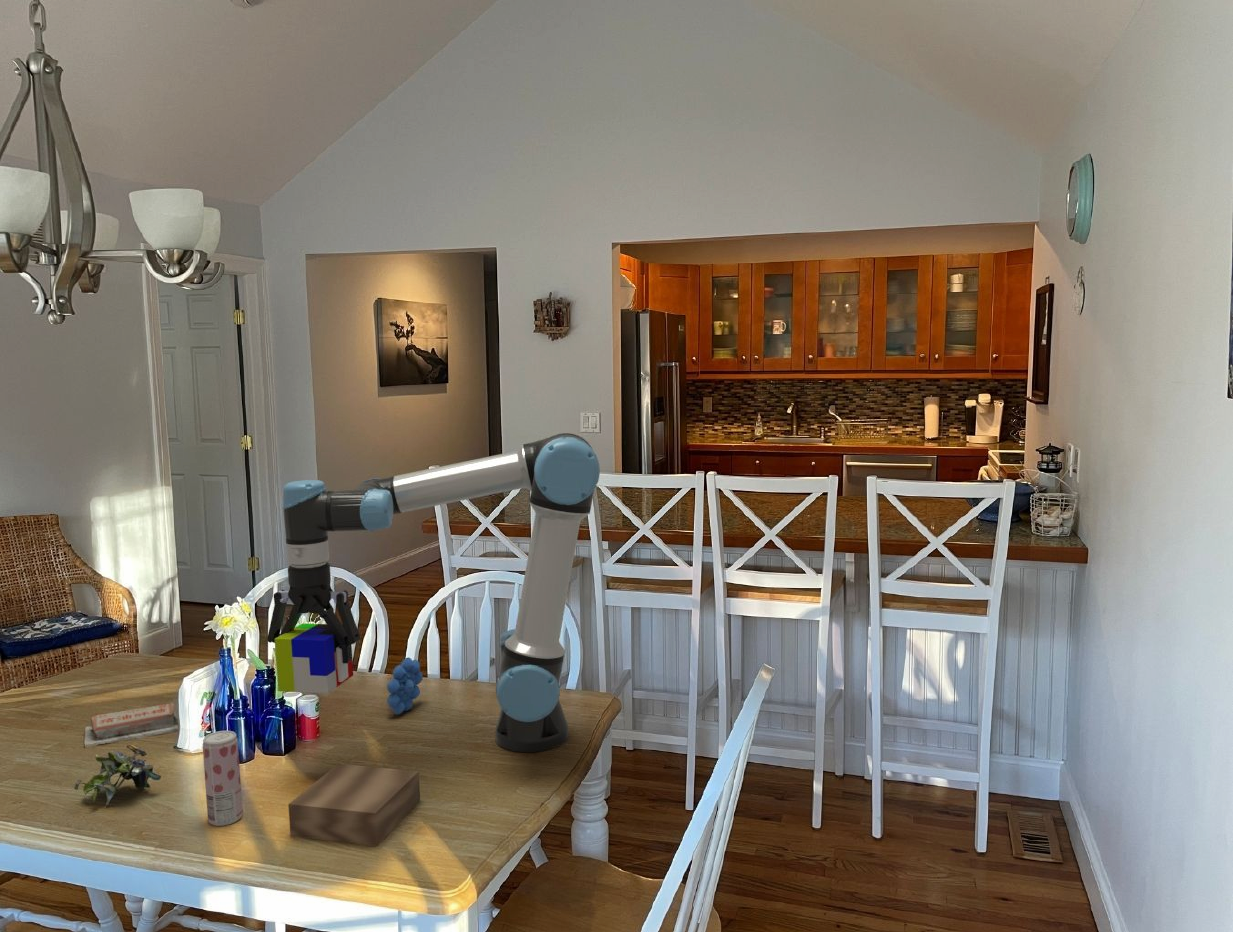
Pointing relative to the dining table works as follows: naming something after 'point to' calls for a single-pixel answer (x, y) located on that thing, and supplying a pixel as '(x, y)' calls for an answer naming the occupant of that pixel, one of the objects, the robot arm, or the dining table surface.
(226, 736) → the beverage can
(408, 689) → the grapes
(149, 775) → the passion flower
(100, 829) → the dining table surface
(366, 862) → the dining table surface
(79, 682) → the dining table surface
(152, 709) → the packaged product
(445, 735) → the dining table surface
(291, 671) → the puzzle toy
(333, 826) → the walnut block
